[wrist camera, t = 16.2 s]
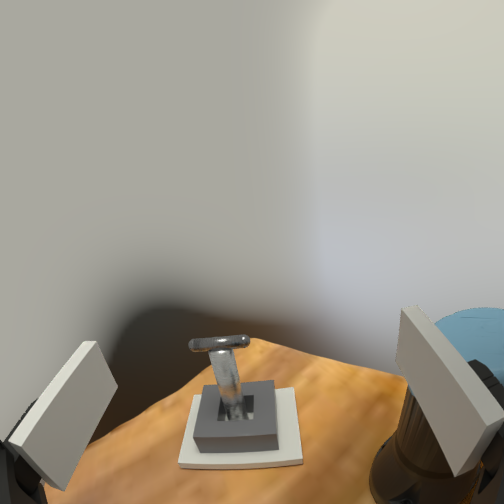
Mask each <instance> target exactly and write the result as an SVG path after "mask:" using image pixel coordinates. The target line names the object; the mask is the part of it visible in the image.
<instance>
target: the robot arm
mask: <svg viewBox="0 0 504 504" xmlns="http://www.w3.org/2000/svg"><path fill="white" fill-rule="evenodd" d="M396 363H397V365H398V366H399V368H400V370H401V372H402V374H403V375H404V377H405V379H406V381H407V383H408V387H407V392H406V396H405V400H404V404H403V409H402V413H401V416H400V420H399V424H398V428H397V430H396V431H395V432H394V433H393V435H392V436H391V437H390V438H389V439H388V440H387V441H386V442H385V443H384V444H383V445H382V446H381V448H380V449H379V451H378V452H377V454H376V456H375V458H374V461H373V464H372V468H371V471H370V478H369V484H370V490H371V493H372V495H373V497H374V499H375V501H376V502H377V504H459V503H460V502H461V501H462V500H463V499H464V498H465V497H466V496H467V495H468V493H469V492H470V491H471V489H472V488H473V486H474V484H475V482H476V480H477V479H478V478H479V479H478V482H477V485H476V488H475V491H474V494H473V497H472V499H471V502H470V504H504V309H498V308H473V309H467V310H463V311H459V312H456V313H454V314H453V315H449V316H446V317H444V318H442V319H441V320H439V321H438V322H436V323H435V324H434V323H433V322H432V321H431V320H430V319H429V317H428V316H427V315H426V314H425V313H424V312H423V311H422V310H421V309H420V308H419V307H418V305H416V306H411V307H406V308H402V309H401V317H400V328H399V338H398V345H397V353H396ZM117 387H118V386H117V384H116V382H115V380H114V378H113V376H112V374H111V372H110V370H109V368H108V366H107V363H106V361H105V359H104V357H103V355H102V353H101V350H100V348H99V346H98V343H97V341H84V342H83V343H82V344H81V346H80V347H79V348H78V349H77V350H76V352H75V353H74V354H73V355H72V356H71V358H70V359H69V360H68V361H67V363H66V364H65V365H64V366H63V368H62V369H61V370H60V371H59V373H58V374H57V375H56V376H55V378H54V379H53V380H52V382H51V383H50V384H49V386H48V387H47V388H46V389H45V391H44V392H43V393H42V395H41V396H40V397H39V398H38V399H36V400H35V401H34V402H33V403H31V405H30V406H29V407H28V409H27V410H26V413H24V414H23V415H22V417H21V420H19V421H18V422H17V424H16V425H15V426H14V428H13V430H12V431H11V432H10V434H9V435H8V437H7V438H6V439H5V441H4V442H2V441H1V440H0V504H48V503H47V499H46V495H45V491H44V488H43V486H42V484H41V483H40V480H41V478H43V480H44V481H45V482H46V483H47V484H49V485H50V486H51V487H53V488H56V489H59V490H61V491H65V489H66V487H67V485H68V483H69V481H70V479H71V477H72V475H73V472H74V470H75V468H76V466H77V464H78V462H79V460H80V458H81V456H82V454H83V452H84V450H85V448H86V446H87V444H88V442H89V440H90V438H91V436H92V434H93V432H94V431H95V429H96V427H97V425H98V423H99V421H100V419H101V417H102V415H103V413H104V411H105V410H106V407H107V406H108V404H109V402H110V400H111V398H112V397H113V394H114V393H115V391H116V389H117ZM481 461H482V462H483V464H484V466H483V467H482V468H481V470H480V463H481Z"/></svg>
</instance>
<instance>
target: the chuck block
mask: <svg viewBox="0 0 504 504" xmlns="http://www.w3.org/2000/svg"><path fill="white" fill-rule="evenodd" d="M241 387H242V391H243V396H244V400H245V404H246V408H247V412H248V416H249V420H233V421H228V417H227V414H226V411H225V408H224V404H223V401H222V398H221V395H220V391H219V388H218V385H204V387H203V392H202V395H194V398H193V402H192V406H191V410H190V414H189V418H188V422H187V426H186V430H185V434H184V439H183V443H182V447H181V451H180V455H179V460H178V464H179V466H180V467H181V468H190V469H250V468H267V467H279V466H289V465H297V464H303V457H302V449H301V440H300V432H299V424H298V417H297V409H296V401H295V394H294V387H290V388H282V389H275V386H274V380H268V381H258V382H247V383H241Z"/></svg>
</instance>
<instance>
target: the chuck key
mask: <svg viewBox="0 0 504 504" xmlns="http://www.w3.org/2000/svg"><path fill="white" fill-rule="evenodd" d="M249 344H250V338H249V337H248V336H247V335H235V336H224V337H213V338H201V339H192V340H191V341H190V342H189V348H190V350H192V351H194V352H199V351H208V353H209V356H210V360H211V363H212V367H213V371H214V374H215V378H216V381H217V384H218V388H219V391H220V395H221V398H222V401H223V404H224V408H225V411H226V414H227V417H228V421H233V420H249V416H248V412H247V408H246V404H245V400H244V396H243V391H242V387H241V383H240V379H239V374H238V370H237V366H236V361H235V357H234V352H233V349H237V348H246V347H248V346H249Z"/></svg>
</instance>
